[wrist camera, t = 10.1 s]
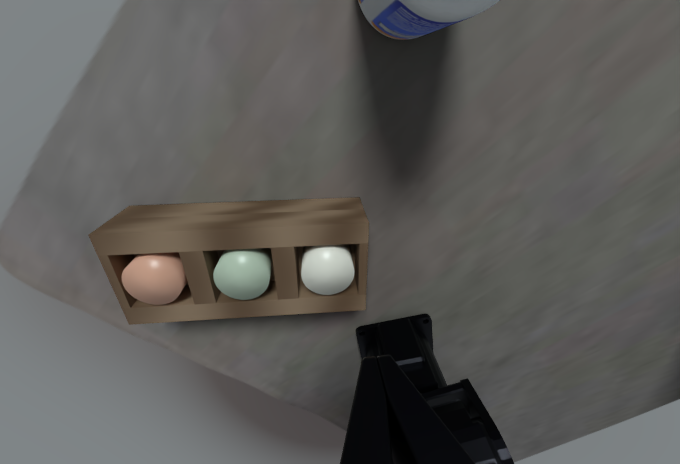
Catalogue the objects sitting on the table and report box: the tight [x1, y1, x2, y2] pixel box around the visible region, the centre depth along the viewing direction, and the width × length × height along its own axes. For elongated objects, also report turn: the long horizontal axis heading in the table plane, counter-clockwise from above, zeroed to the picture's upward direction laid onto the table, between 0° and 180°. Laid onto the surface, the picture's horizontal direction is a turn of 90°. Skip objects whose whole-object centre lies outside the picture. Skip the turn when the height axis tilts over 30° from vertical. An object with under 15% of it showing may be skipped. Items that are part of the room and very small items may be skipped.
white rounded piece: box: [301, 244, 354, 295], centre depth 19 cm, size 3×3×2 cm
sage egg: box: [213, 248, 273, 300], centre depth 19 cm, size 3×3×2 cm
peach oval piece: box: [122, 252, 188, 305], centre depth 18 cm, size 3×3×2 cm
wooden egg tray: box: [89, 197, 369, 324], centre depth 20 cm, size 15×6×4 cm, turn 91°
